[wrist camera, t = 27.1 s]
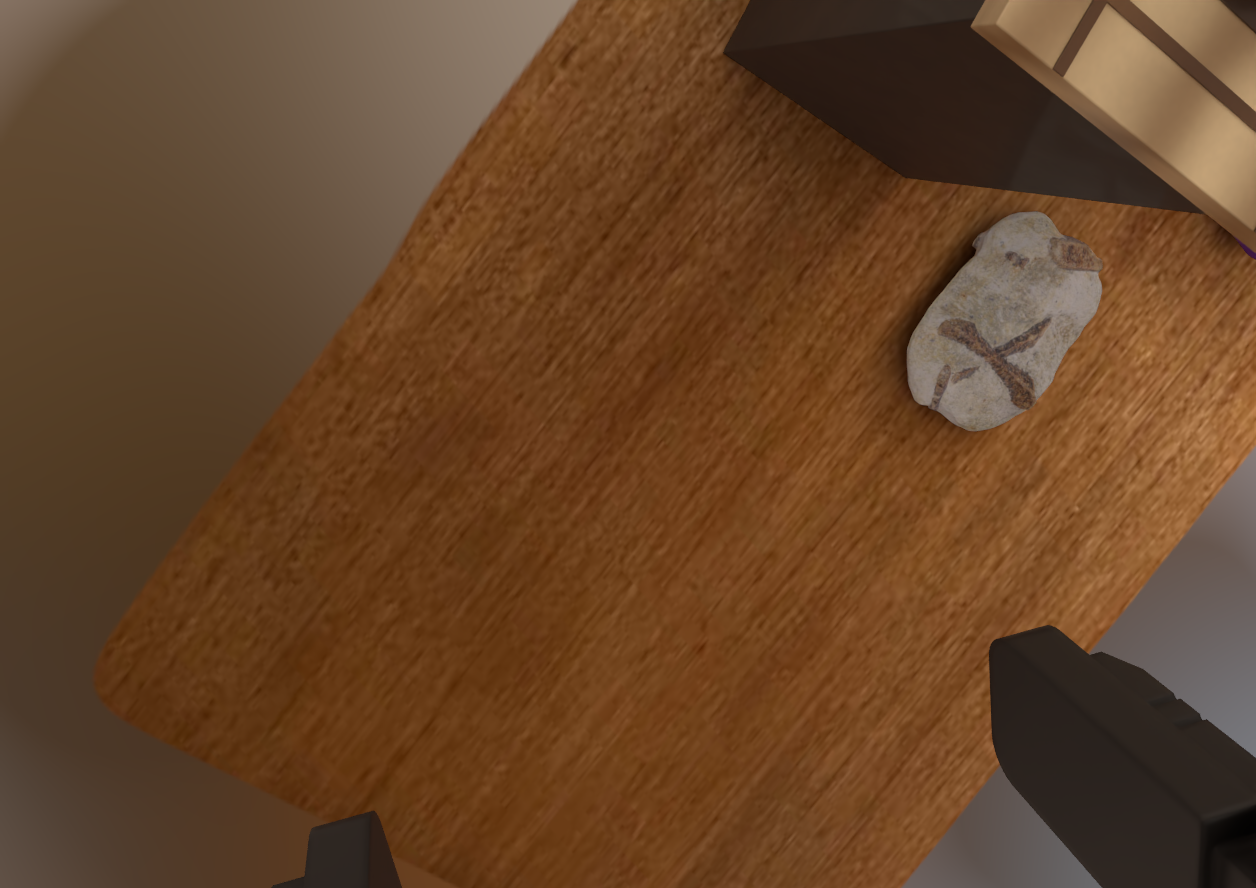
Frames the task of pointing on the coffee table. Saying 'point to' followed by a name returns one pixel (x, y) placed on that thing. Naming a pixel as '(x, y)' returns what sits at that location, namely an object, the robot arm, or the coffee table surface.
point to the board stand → (937, 99)
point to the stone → (1003, 322)
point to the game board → (1152, 85)
